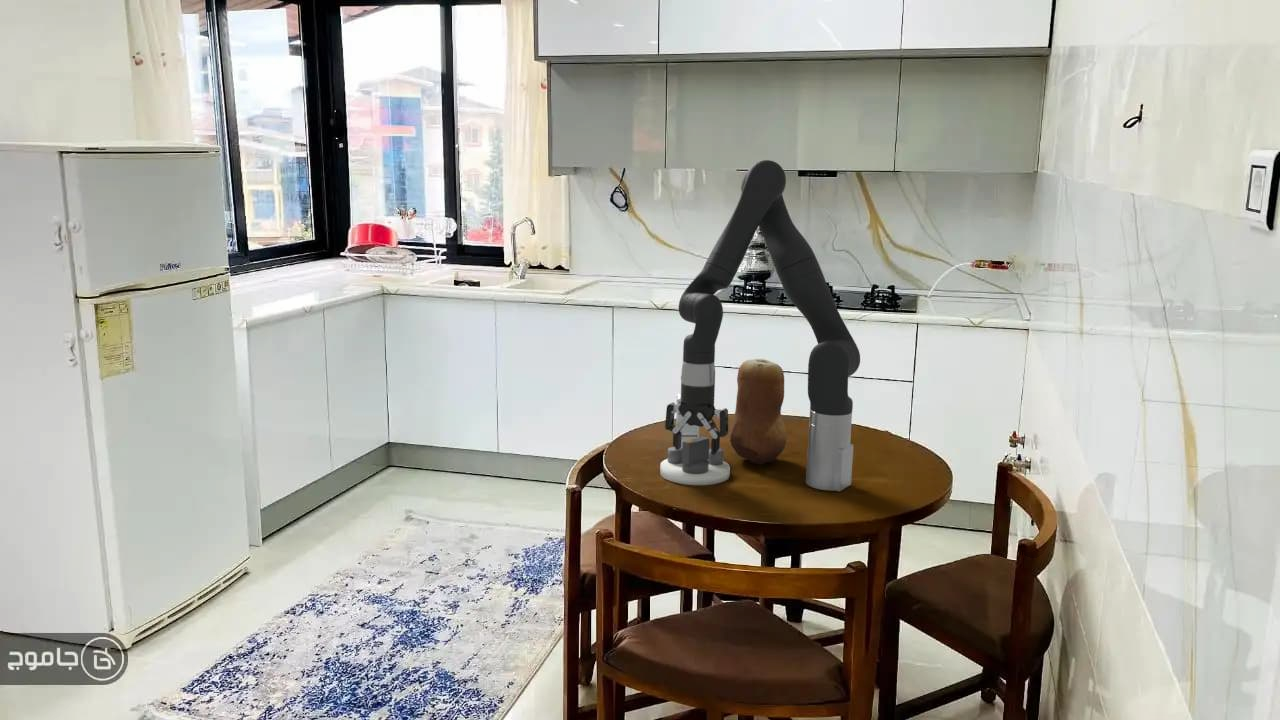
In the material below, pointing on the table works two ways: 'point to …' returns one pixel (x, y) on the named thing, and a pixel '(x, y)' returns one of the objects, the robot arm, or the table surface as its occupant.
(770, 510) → the table surface
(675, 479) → the plate
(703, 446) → the wing knob
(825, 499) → the table surface
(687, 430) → the syrup box
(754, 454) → the butternut squash
